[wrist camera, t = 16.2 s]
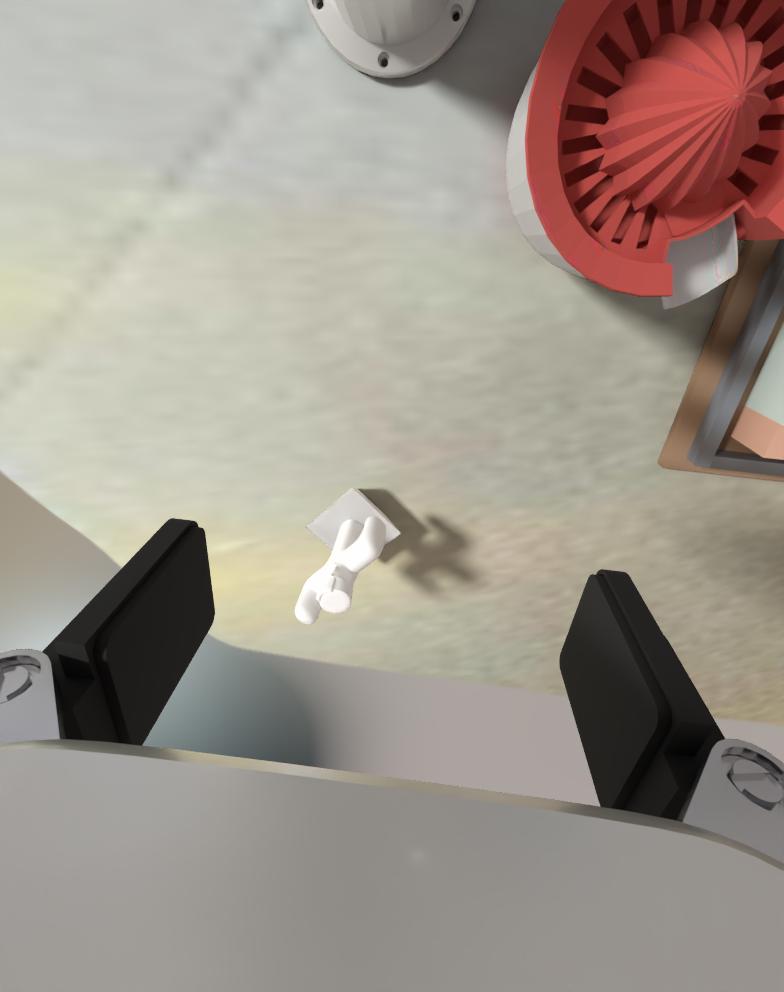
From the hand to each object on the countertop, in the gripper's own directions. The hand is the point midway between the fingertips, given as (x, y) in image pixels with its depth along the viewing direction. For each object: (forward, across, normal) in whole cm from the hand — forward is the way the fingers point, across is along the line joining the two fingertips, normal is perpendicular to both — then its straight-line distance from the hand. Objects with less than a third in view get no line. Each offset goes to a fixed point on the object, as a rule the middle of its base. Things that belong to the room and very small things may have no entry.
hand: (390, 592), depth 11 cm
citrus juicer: (+36, -12, -13) cm, 41 cm away
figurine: (+36, +5, +20) cm, 42 cm away
